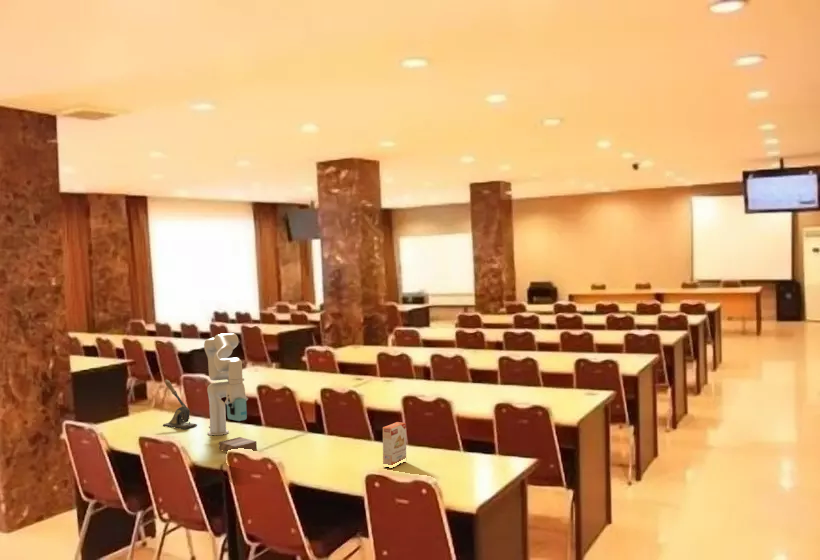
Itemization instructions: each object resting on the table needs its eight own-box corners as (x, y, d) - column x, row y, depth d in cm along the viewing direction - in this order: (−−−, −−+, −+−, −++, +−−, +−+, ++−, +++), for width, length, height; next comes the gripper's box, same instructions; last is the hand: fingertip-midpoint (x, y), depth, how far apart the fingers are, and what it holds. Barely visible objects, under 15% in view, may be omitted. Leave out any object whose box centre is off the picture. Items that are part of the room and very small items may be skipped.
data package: (247, 419, 404) (246, 398, 404) (240, 421, 400) (239, 400, 400) (233, 417, 411) (232, 396, 411) (227, 418, 408) (226, 397, 407)
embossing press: (183, 430, 457) (181, 383, 456) (161, 425, 471) (159, 380, 470) (197, 426, 466) (196, 380, 464) (175, 422, 479) (173, 377, 478)
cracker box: (392, 469, 362) (391, 428, 361) (382, 467, 365) (381, 427, 364) (407, 462, 374) (406, 422, 373) (397, 460, 377) (396, 421, 376)
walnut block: (219, 450, 407) (219, 442, 407) (240, 445, 417) (240, 437, 417) (235, 455, 396) (235, 446, 396) (256, 450, 406) (256, 441, 406)
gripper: (245, 378, 414) (246, 410, 415) (218, 383, 402) (219, 415, 402) (252, 380, 409) (253, 411, 409) (226, 384, 396) (227, 417, 397)
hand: (236, 413), depth 406 cm, fingers closed on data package, 4 cm apart
